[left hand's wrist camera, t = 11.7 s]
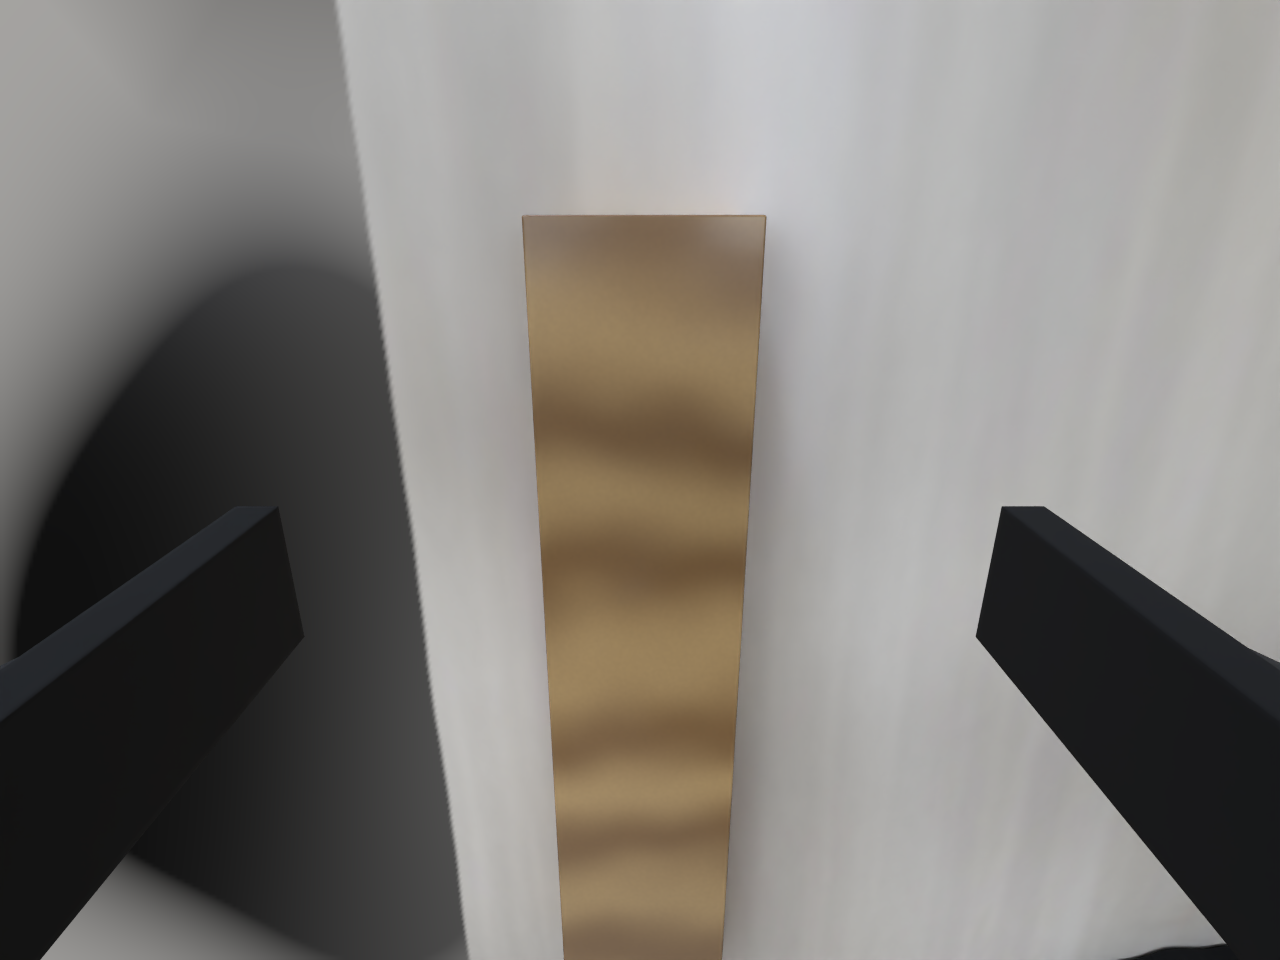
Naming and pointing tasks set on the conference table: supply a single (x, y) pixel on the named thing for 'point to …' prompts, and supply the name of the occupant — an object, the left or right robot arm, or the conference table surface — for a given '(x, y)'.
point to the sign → (1193, 954)
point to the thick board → (643, 560)
